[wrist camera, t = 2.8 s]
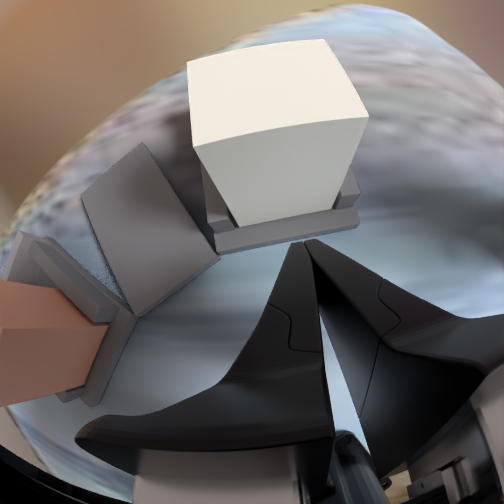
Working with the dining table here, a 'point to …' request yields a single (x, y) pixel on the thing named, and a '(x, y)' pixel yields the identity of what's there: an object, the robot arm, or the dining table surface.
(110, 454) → the robot arm
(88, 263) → the dining table surface
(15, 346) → the terracotta key
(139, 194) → the grey tray
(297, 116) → the cream key
